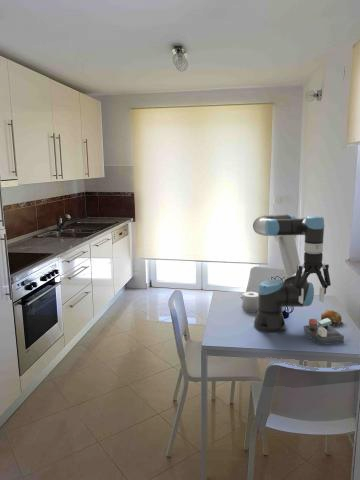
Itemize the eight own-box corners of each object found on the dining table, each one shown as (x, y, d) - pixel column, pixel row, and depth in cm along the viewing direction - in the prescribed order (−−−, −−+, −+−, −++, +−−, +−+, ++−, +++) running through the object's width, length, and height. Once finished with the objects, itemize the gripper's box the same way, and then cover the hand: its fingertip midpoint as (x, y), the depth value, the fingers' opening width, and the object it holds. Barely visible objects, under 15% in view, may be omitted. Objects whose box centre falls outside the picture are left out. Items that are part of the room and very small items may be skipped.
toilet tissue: (244, 303, 224) (245, 289, 223) (262, 309, 214) (263, 294, 213) (234, 306, 219) (234, 292, 217) (252, 312, 209) (252, 298, 207)
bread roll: (341, 328, 195) (343, 312, 197) (339, 326, 187) (341, 310, 188) (321, 324, 200) (323, 309, 202) (318, 322, 192) (320, 307, 193)
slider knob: (321, 337, 169) (322, 329, 169) (317, 333, 173) (317, 326, 172) (326, 336, 170) (327, 329, 169) (322, 333, 173) (322, 326, 172)
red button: (311, 326, 178) (311, 321, 178) (307, 323, 182) (307, 318, 181) (318, 326, 179) (318, 321, 178) (314, 323, 182) (314, 318, 182)
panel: (318, 344, 169) (319, 336, 169) (304, 331, 183) (304, 324, 182) (343, 342, 171) (344, 334, 170) (327, 329, 185) (327, 322, 184)
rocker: (322, 327, 179) (321, 324, 179) (318, 324, 183) (317, 321, 182) (331, 323, 180) (331, 320, 179) (327, 320, 183) (327, 317, 183)
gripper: (293, 255, 158) (291, 306, 162) (341, 252, 161) (338, 303, 165) (285, 251, 166) (284, 300, 170) (332, 249, 169) (329, 297, 173)
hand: (311, 301), depth 167 cm, fingers open, 9 cm apart
